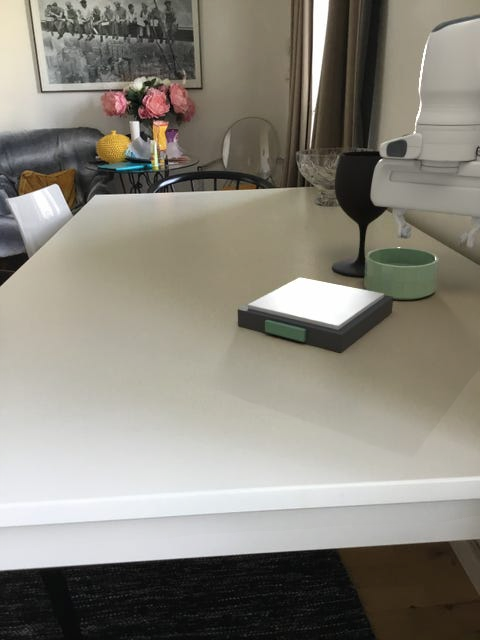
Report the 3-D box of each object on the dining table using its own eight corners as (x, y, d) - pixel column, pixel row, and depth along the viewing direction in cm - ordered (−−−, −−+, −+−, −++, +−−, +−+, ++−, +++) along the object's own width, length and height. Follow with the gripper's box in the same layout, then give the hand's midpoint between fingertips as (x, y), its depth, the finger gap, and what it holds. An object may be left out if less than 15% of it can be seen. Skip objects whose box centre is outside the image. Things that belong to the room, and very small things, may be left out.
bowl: (444, 286, 92) (448, 253, 90) (420, 306, 84) (423, 271, 82) (380, 275, 98) (383, 244, 96) (352, 293, 90) (354, 260, 88)
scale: (392, 312, 82) (393, 292, 81) (338, 355, 70) (339, 331, 69) (297, 293, 91) (297, 274, 90) (235, 327, 79) (234, 306, 78)
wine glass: (360, 281, 95) (367, 159, 87) (319, 267, 103) (322, 154, 96) (403, 270, 100) (412, 153, 93) (361, 257, 108) (367, 149, 101)
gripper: (531, 147, 76) (513, 247, 81) (387, 141, 87) (379, 229, 93) (520, 151, 71) (502, 257, 77) (369, 144, 83) (363, 237, 88)
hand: (434, 241), depth 85 cm, fingers open, 8 cm apart
